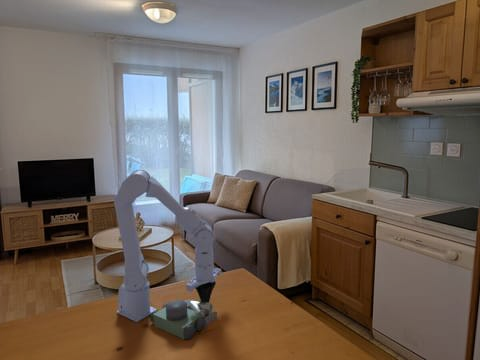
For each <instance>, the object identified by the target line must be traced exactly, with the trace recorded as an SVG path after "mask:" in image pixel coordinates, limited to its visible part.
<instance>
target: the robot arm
mask: <svg viewBox="0 0 480 360" xmlns="http://www.w3.org/2000/svg"><path fill="white" fill-rule="evenodd" d="M145 193H146V194H145ZM144 194H145V198H154V199H156V200H158V201H159V202H160V203H161V204H162V205H163V206H165V207H166V208H167V209H168V210H169V211H171V213H172V214H174V215H175V216H174V217H175V219H174V220H175V222H176V223H177V224H178V225H179V226H180V227H181V228H182V229H183V230H184V231H186V233H187V234H189V236H191V237H193V239H194V243H195V248H194V271H195V272H194V273H195V274H194V275H193V276H194V277H193V278H192V279H191V280H189V282H188V283H186V291H188V292H194V290H195V291H196V292H197V294H198V296H199V301H200V302H210V300H211V296H212V293H213V290H214V288H215V286H216V281H217V276H221V275H222V269H221V268H218V267H216V268H214V267H215V266H214V265H215V264H214V248H213V247H214V241H215V236H214V232H213V228H212V227H211V225H210V224H209V223H208V222H207V221H206V220H203V219H202V217H200V216H198V214H196V212H197V210H195V209H194V208H192V209H191V208H190V207H188V206H186V207H185V206H183V205H182V204H181V203H180V202H179V201H178V200H177V199H176V198H175V197H174V196H173V195H172V194H171V193H170V192H169V191H168V190H167V189H166V188H165V187H164V185H163V184H162V183H160V181H158V179H156V178H155V177H154V176H152V175H150V174H149V172H148V171H146V170H144V169H136V170H133V172H131V173H130V174H129V175H128V177H127V178H125V179H124V180H123V181H122V182H121V184H120V186H119V189H118V191H117V193H116V195H115V198H114V200H113V205H114V209H115V215H116V220H117V221H116V222H117V225H118V230H119V236H120V240H121V246H122V251H123V256H124V269H123V270H124V278H123V282H122V283H121V285H120V287H119V289H118V293H117V294H118V296H117V297H118V309H117V310H116V313H117V314H119V315H121V316H122V317H125V318H127V319H129V320H131V321H133V322H135V323H138V322H140V321H141V320H143V319H145V318H147V317H148V316H149V315H151V313H152V312H153V311H155V310H158V309H157V308H155V307H154V306H151V296H150V295H151V293H150V282H149V280H148V279H147V276H148V273H149V270H150V269H149V264H148V263H147V262H146V261H145V259H144V254H143V252H142V250H141V244H140V238H139V233H138V228H137V223H136V217H135V213H134V206H133V203H135V201H136V200H137V198H139V197H141V196H142V195H144Z"/></svg>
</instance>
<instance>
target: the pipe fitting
mask: <svg viewBox="0 0 480 360" xmlns="http://www.w3.org/2000/svg"><path fill="white" fill-rule="evenodd" d="M185 300H186V303H187V308H188V309H190V310H193V311H195V312H198V313H200V314H203V318H206V317H207V316H209V315H210V314H212V313H213V302H210V301H209V302H201V301H200V300H199V301H198V300H192V299H185Z"/></svg>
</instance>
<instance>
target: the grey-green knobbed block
mask: <svg viewBox="0 0 480 360" xmlns="http://www.w3.org/2000/svg"><path fill="white" fill-rule="evenodd" d="M186 300H187V299H185V300H181V299H179V300H177V299H174V300H172V301H169V302H168V303H165V304H164V305H162V308H161V309H160V310H158V309H157V310H155V311H153V312H152V313H151V314H150V316H149V321H150V322H151V323H153V326H155V327H157V328H159V329H161V330H162V331H165V332H167V333H169V334H172V335H174V336H175V337H177V338H180V339H182V340H191V339H192V338H193V337H194V335H195V333H196V332H197V331H199V332H201V331H203V330H204V329H205V327H206V326H207V325H208V324H210V323H211V322H212V321H214V320H215V319H216V318H218V312H217V311H212V312H211V314H210V315H206V317H205V318H203V314H200V313H198V312H195V311H193V310H190V309H188V308H187V303H186Z"/></svg>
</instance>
